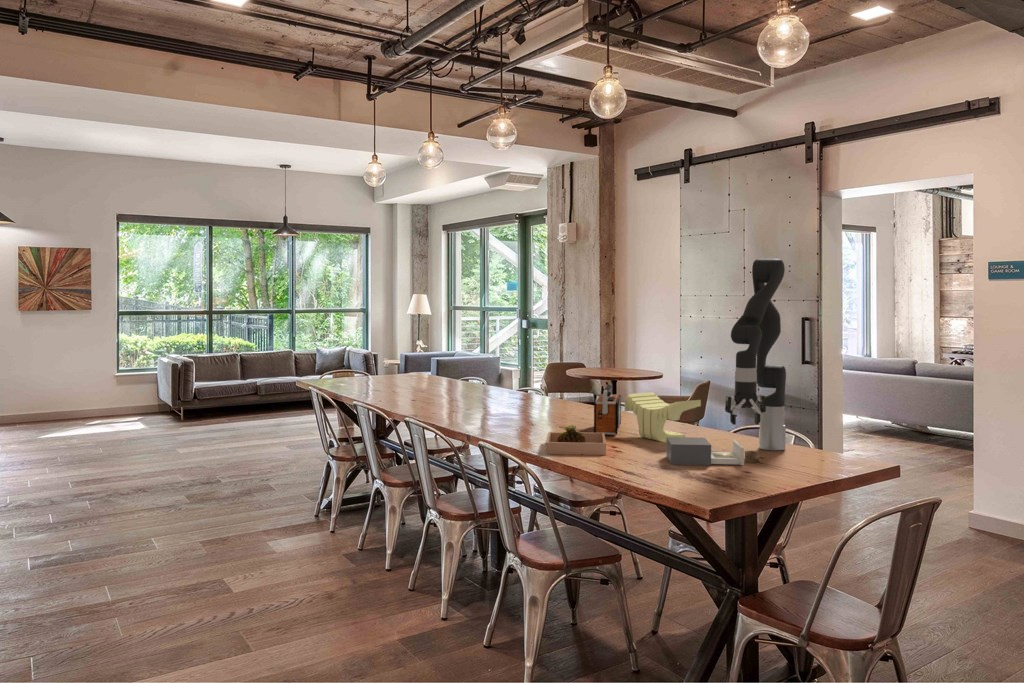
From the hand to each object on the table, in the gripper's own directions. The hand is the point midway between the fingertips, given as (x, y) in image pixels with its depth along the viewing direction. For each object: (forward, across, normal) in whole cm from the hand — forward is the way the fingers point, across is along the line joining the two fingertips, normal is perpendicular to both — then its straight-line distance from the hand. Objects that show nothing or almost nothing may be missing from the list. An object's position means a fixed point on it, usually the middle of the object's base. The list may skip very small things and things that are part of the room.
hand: (745, 424), depth 273 cm
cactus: (+14, -61, +28) cm, 68 cm away
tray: (+13, -9, 0) cm, 16 cm away
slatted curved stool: (+14, -19, +47) cm, 53 cm away
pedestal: (+14, +2, -1) cm, 14 cm away
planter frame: (+14, -58, +28) cm, 66 cm away
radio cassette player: (+15, -38, +67) cm, 79 cm away
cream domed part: (+12, -8, 0) cm, 15 cm away
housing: (+14, -20, +2) cm, 25 cm away
